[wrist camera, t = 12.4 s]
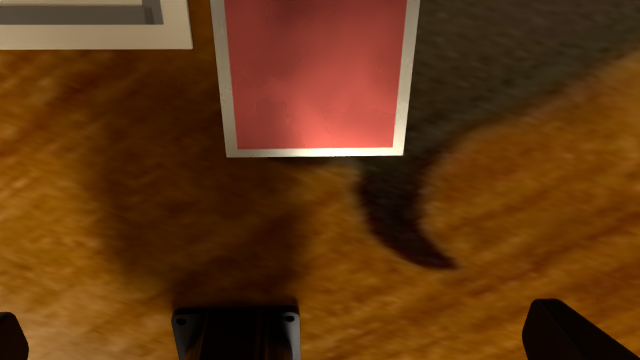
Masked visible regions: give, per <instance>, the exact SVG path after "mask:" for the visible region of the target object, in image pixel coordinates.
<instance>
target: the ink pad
mask: <svg viewBox="0 0 640 360" xmlns="http://www.w3.org/2000/svg"><path fill="white" fill-rule="evenodd" d="M419 4H420V0H210V5H211V14H212V24H213V33H214V43H215V52H216V62H217V71H218V81H219V91H220V100H221V110H222V119H223V129H224V138H225V148H226V157H294V156H373V155H403V148H404V139H405V130H406V121H407V112H408V103H409V94H410V85H411V76H412V67H413V58H414V49H415V40H416V31H417V22H418V13H419Z"/></svg>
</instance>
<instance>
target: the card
mask: <svg viewBox="0 0 640 360" xmlns="http://www.w3.org/2000/svg"><path fill="white" fill-rule="evenodd" d="M43 49H193V40H192V32H191V24H190V17H189V9H188V1H187V0H0V50H43Z"/></svg>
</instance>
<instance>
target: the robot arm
mask: <svg viewBox="0 0 640 360" xmlns="http://www.w3.org/2000/svg"><path fill="white" fill-rule="evenodd" d="M288 315H291V316H288ZM180 318H183V319H180ZM171 323H172V328H173V333H174V337H175V342H176V346H177V351H178V356H179V360H300V313H299V310H298V309H297V308H296V307H294V306H270V307H231V308H191V309H178V310H176V311H174V313H173V316H172V319H171ZM522 341H523V345H524V349H525V352H526V355H527V358H528V360H640V358H639V357H638V356H637V355H635V354H634V353H632V352H631V351H630V350H628V349H627V348H626V347H624V346H623V345H621V344H620V343H619V342H617V341H616V340H615V339H613V338H612V337H610V336H609V335H608V334H606V333H605V332H604V331H602V330H601V329H599V328H598V327H597V326H595V325H594V324H593V323H591V322H590V321H588V320H587V319H586V318H584V317H583V316H582V315H580V314H579V313H577V312H576V311H575V310H573V309H572V308H571V307H569V306H568V305H567V304H565V303H564V302H562V301H561V300H559V299H555V298H549V299H535V300H534V301H533V302H532V303H531V306H530V309H529V312H528V315H527V318H526V321H525V324H524V327H523V330H522ZM28 353H29V347H28V342H27V340H26V338H25V336H24V333H23V331H22V329H21V327H20V325H19V322H18V320H17V318H16V316H15V315H14V314H12V313H11V312H0V360H27V358H28Z"/></svg>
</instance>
